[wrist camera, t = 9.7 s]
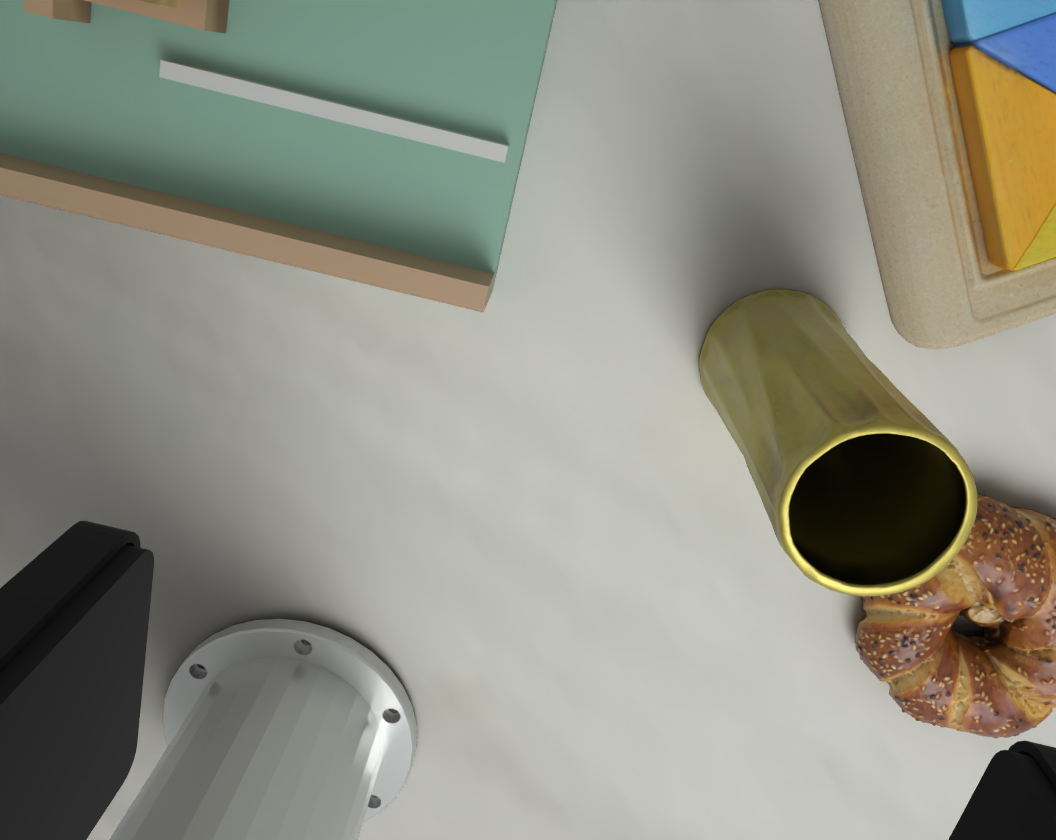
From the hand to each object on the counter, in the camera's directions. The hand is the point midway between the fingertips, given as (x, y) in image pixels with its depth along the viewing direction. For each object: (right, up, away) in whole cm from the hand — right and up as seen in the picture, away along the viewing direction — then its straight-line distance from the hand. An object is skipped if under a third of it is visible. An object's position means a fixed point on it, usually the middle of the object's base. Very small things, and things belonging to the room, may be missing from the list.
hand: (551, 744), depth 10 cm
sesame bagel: (+20, -5, +31) cm, 37 cm away
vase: (+10, +6, +28) cm, 30 cm away
